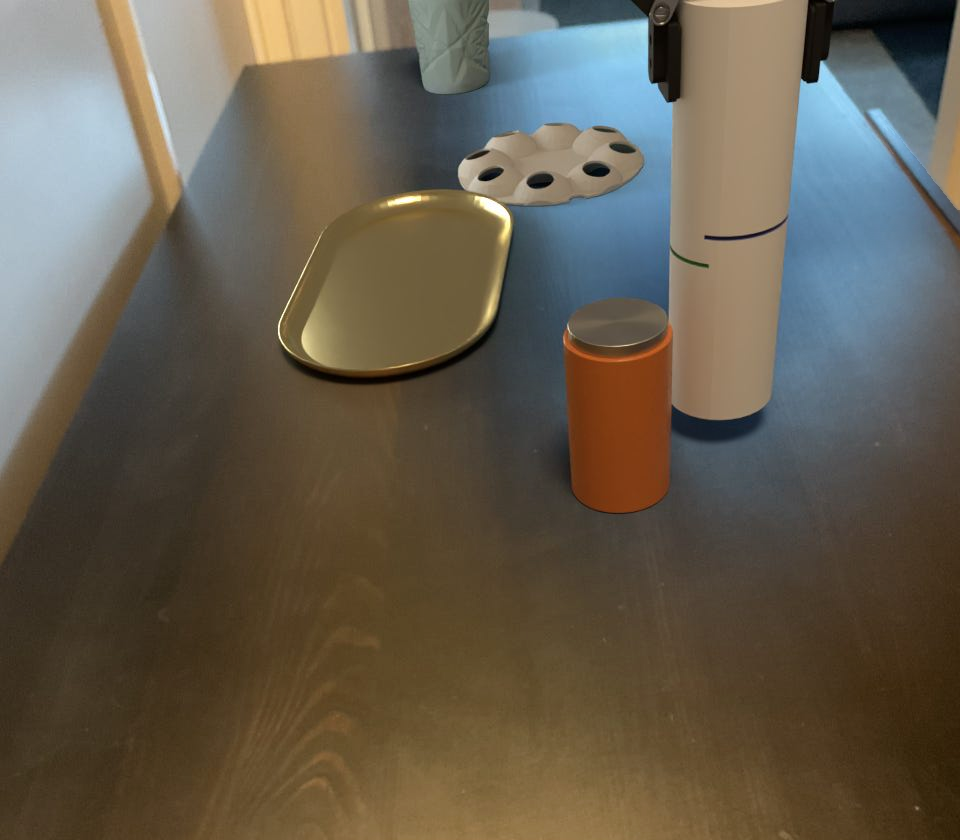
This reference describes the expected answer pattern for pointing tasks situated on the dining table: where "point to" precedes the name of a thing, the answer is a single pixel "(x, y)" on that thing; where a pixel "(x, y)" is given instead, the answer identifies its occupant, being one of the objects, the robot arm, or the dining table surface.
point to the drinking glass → (452, 44)
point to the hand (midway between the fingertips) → (736, 83)
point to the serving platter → (400, 284)
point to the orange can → (619, 403)
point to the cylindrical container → (731, 198)
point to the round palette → (551, 164)
